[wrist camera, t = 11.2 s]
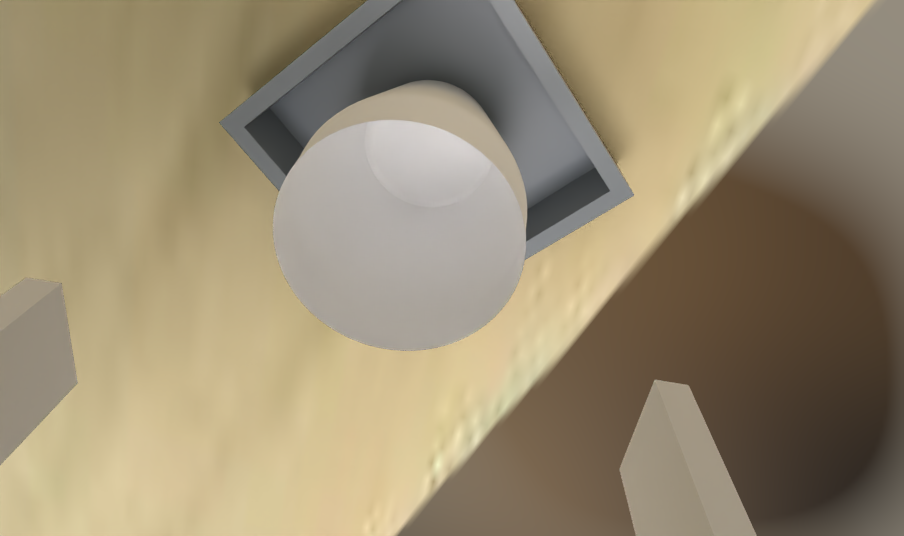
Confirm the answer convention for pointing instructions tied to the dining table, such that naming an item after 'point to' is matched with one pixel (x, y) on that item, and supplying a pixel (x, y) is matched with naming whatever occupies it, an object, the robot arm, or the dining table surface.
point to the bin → (458, 63)
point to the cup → (404, 219)
